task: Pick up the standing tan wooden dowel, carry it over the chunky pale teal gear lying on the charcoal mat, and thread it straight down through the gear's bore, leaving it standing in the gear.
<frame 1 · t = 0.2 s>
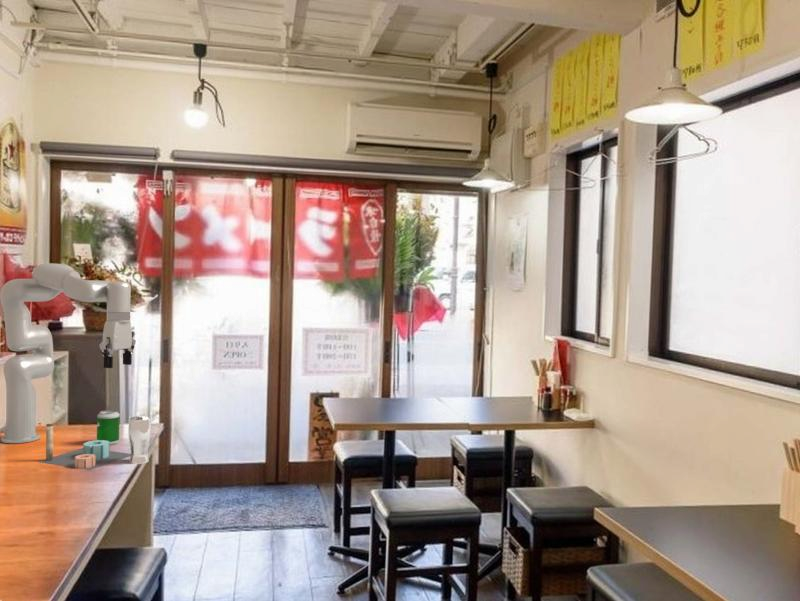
hand: (117, 366, 224), 31 cm above the table, fingers open, 9 cm apart
beer glass: (139, 463, 215), on the table
tan wooden dowel: (49, 460, 213), resting on mat
pale teal gear: (96, 456, 219), resting on mat
bead small: (85, 465, 208), resting on mat
mat: (87, 459, 217), on the table
soda can: (108, 444, 236), on the table
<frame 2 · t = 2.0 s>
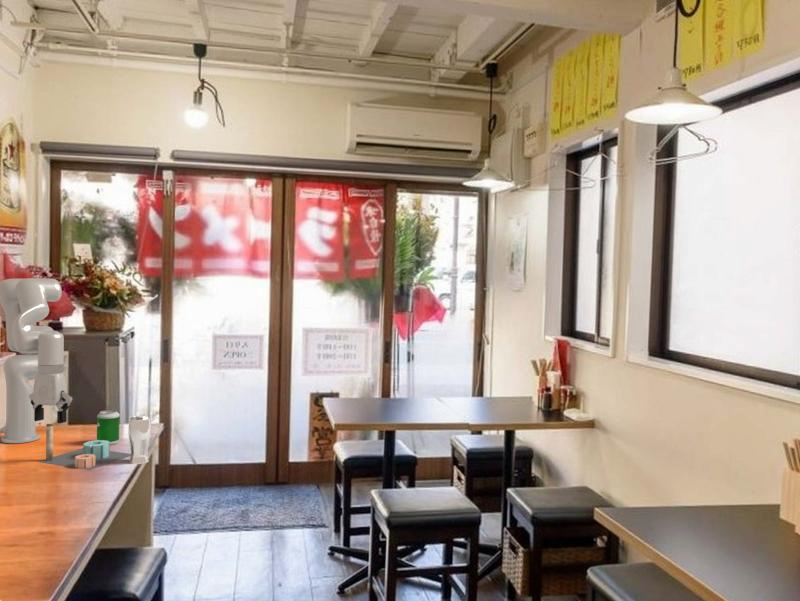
hand: (50, 421, 212), 13 cm above the table, fingers open, 9 cm apart
nothing on the table moved.
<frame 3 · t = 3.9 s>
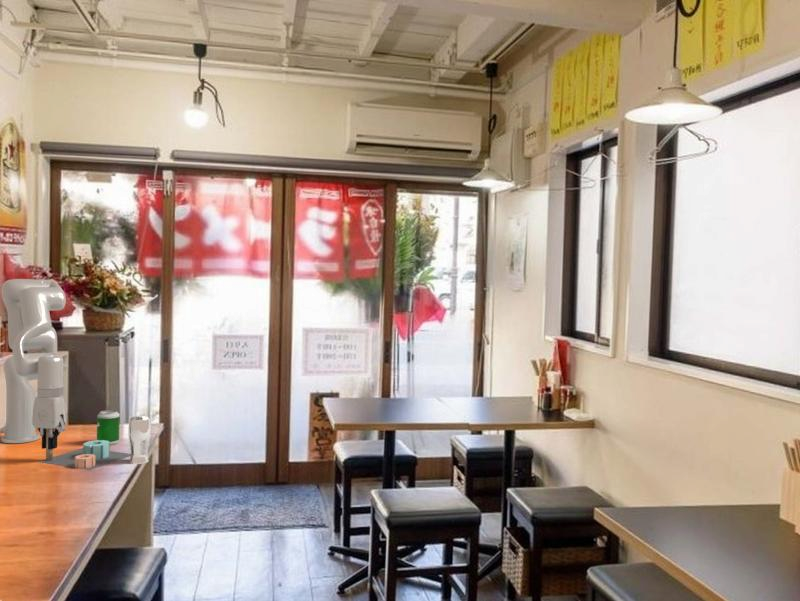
hand: (49, 447, 213), 5 cm above the table, fingers closed on tan wooden dowel, 2 cm apart
tan wooden dowel: (49, 460, 213), resting on mat, touching gripper
everything else where it was.
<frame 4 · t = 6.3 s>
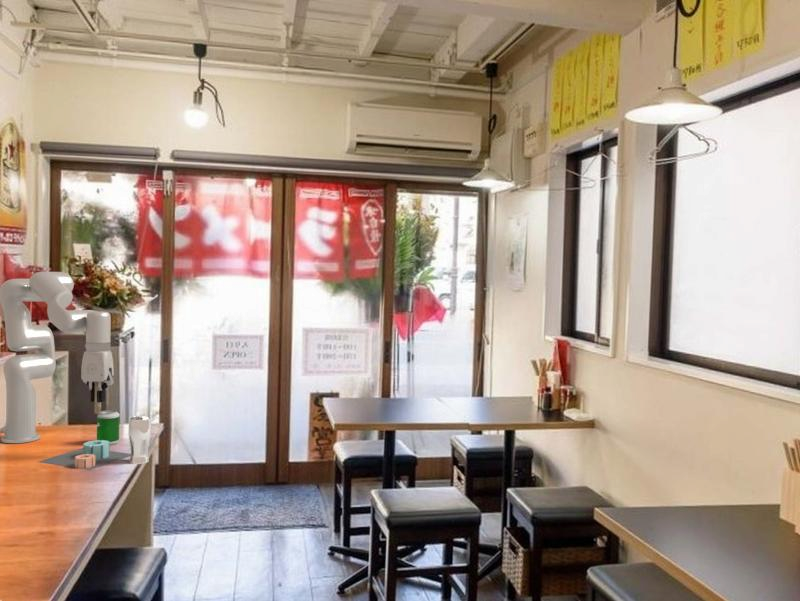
hand: (97, 401, 219), 19 cm above the table, fingers closed on tan wooden dowel
tan wooden dowel: (97, 413, 219), point 15 cm above the table, touching gripper
everything else where it was.
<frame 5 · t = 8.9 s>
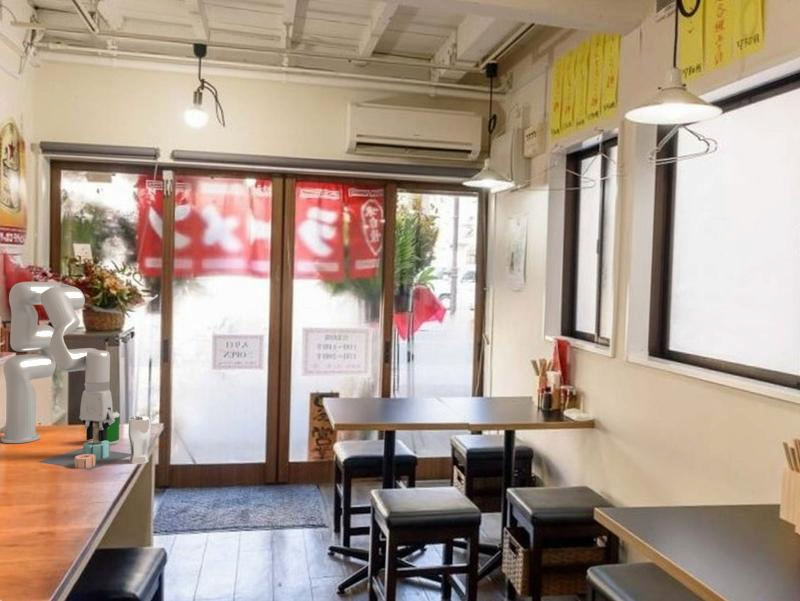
hand: (96, 439, 219), 6 cm above the table, fingers open, 4 cm apart
tan wooden dowel: (96, 456, 219), resting on mat
everything else where it was.
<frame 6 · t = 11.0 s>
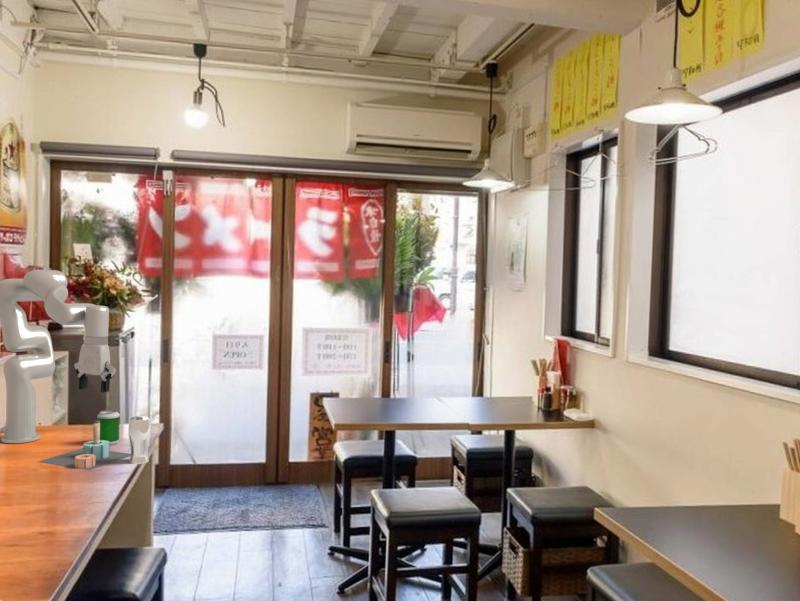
hand: (93, 390, 222), 22 cm above the table, fingers open, 9 cm apart
nothing on the table moved.
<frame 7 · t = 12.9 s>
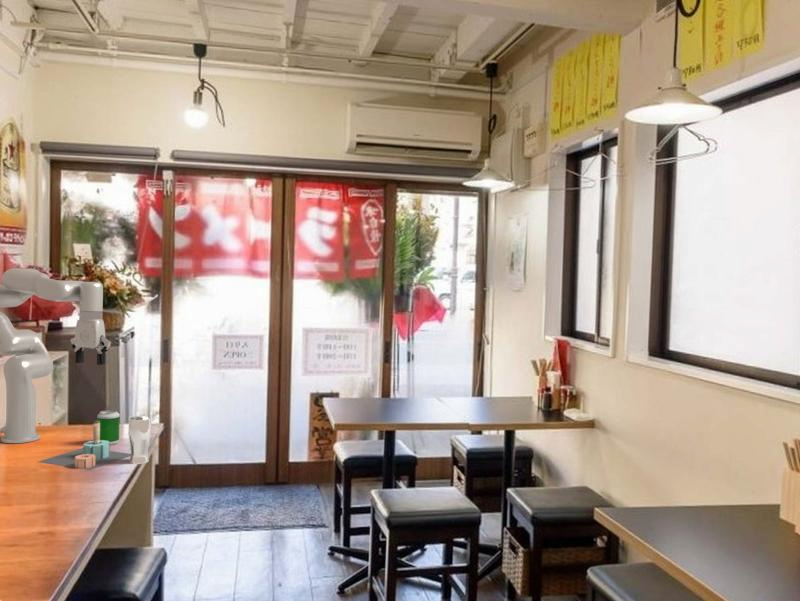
hand: (90, 363, 231), 30 cm above the table, fingers open, 9 cm apart
nothing on the table moved.
at the end: tan wooden dowel 0.1 cm from the pale teal gear (horizontally); tan wooden dowel resting on mat; tan wooden dowel tilted 0° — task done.
